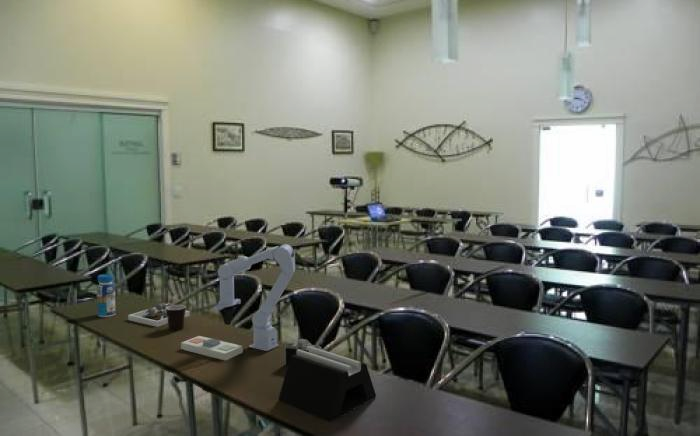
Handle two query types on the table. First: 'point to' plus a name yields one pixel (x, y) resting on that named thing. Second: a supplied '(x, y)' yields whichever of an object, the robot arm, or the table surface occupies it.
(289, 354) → the camera
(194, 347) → the keypad
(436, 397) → the table surface
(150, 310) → the molecule model
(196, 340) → the terracotta key
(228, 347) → the sage key
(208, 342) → the slate key
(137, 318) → the display tray
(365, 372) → the device stand
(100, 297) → the beverage bottle
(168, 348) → the table surface
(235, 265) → the robot arm
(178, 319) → the coffee mug
